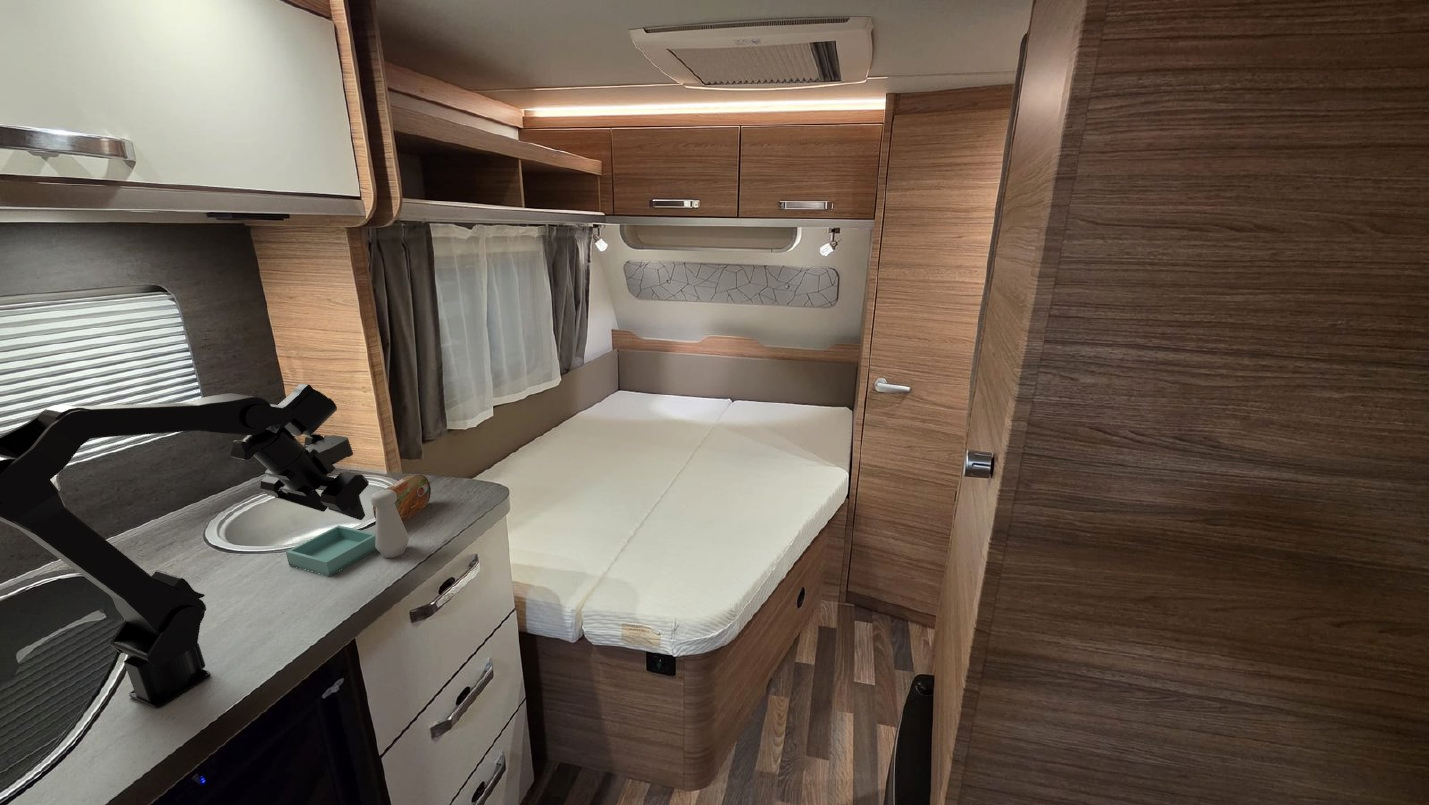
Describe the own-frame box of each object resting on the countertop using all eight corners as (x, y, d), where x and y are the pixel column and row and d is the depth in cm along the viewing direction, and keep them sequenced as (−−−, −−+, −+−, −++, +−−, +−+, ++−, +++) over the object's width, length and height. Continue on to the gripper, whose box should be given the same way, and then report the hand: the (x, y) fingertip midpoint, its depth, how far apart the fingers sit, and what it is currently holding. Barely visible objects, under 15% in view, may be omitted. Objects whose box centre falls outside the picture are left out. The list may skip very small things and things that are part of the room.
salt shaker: (397, 542, 118) (387, 483, 114) (417, 548, 116) (406, 488, 112) (370, 556, 113) (358, 495, 109) (390, 563, 111) (378, 501, 107)
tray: (329, 576, 107) (326, 562, 106) (289, 565, 110) (285, 551, 109) (380, 547, 116) (377, 534, 115) (341, 538, 120) (338, 525, 119)
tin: (387, 534, 121) (380, 498, 119) (374, 533, 122) (367, 496, 119) (434, 502, 135) (429, 469, 133) (422, 501, 136) (416, 467, 134)
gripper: (363, 426, 95) (413, 485, 106) (284, 414, 101) (338, 471, 112) (311, 479, 88) (370, 537, 98) (230, 463, 94) (293, 519, 105)
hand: (343, 513), depth 104 cm, fingers open, 9 cm apart
